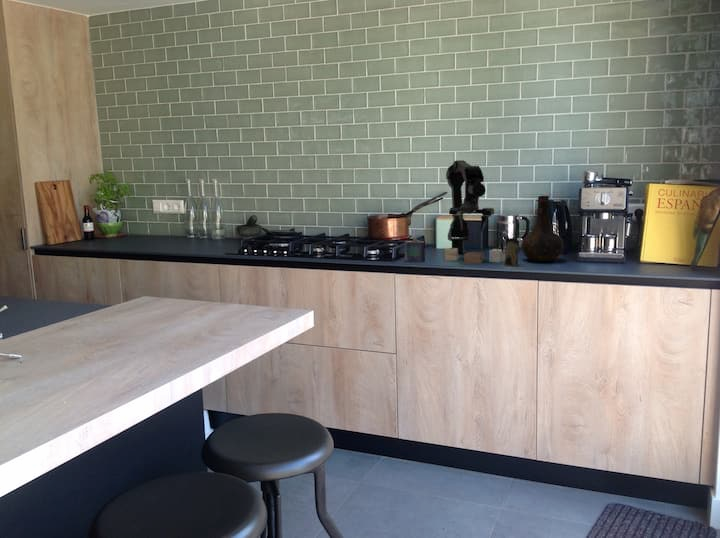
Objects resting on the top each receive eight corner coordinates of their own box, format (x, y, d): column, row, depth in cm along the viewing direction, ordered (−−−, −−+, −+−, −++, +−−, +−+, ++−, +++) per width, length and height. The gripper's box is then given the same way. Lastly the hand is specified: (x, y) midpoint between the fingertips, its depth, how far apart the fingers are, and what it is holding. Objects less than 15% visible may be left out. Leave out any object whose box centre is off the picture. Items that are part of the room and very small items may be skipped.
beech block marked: (446, 258, 302) (446, 247, 301) (457, 259, 301) (457, 247, 300) (445, 260, 297) (445, 249, 296) (456, 261, 296) (456, 249, 295)
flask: (404, 261, 298) (403, 237, 296) (406, 260, 300) (406, 236, 298) (423, 262, 294) (423, 238, 292) (426, 261, 296) (425, 237, 294)
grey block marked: (494, 260, 296) (494, 248, 295) (505, 261, 293) (505, 249, 292) (489, 261, 292) (489, 250, 291) (499, 262, 289) (499, 251, 288)
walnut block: (467, 261, 296) (467, 252, 295) (483, 261, 294) (483, 252, 293) (464, 263, 290) (464, 254, 289) (480, 264, 287) (480, 255, 286)
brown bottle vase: (539, 265, 279) (540, 198, 274) (512, 259, 295) (513, 195, 290) (572, 261, 286) (574, 195, 281) (545, 255, 302) (546, 193, 298)
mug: (520, 265, 281) (521, 236, 279) (512, 266, 277) (513, 238, 275) (505, 263, 287) (505, 235, 285) (497, 264, 283) (497, 236, 281)
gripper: (444, 196, 288) (444, 232, 291) (487, 197, 280) (486, 234, 283) (453, 194, 298) (453, 229, 301) (494, 194, 289) (494, 230, 292)
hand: (471, 230), depth 294 cm, fingers open, 9 cm apart
